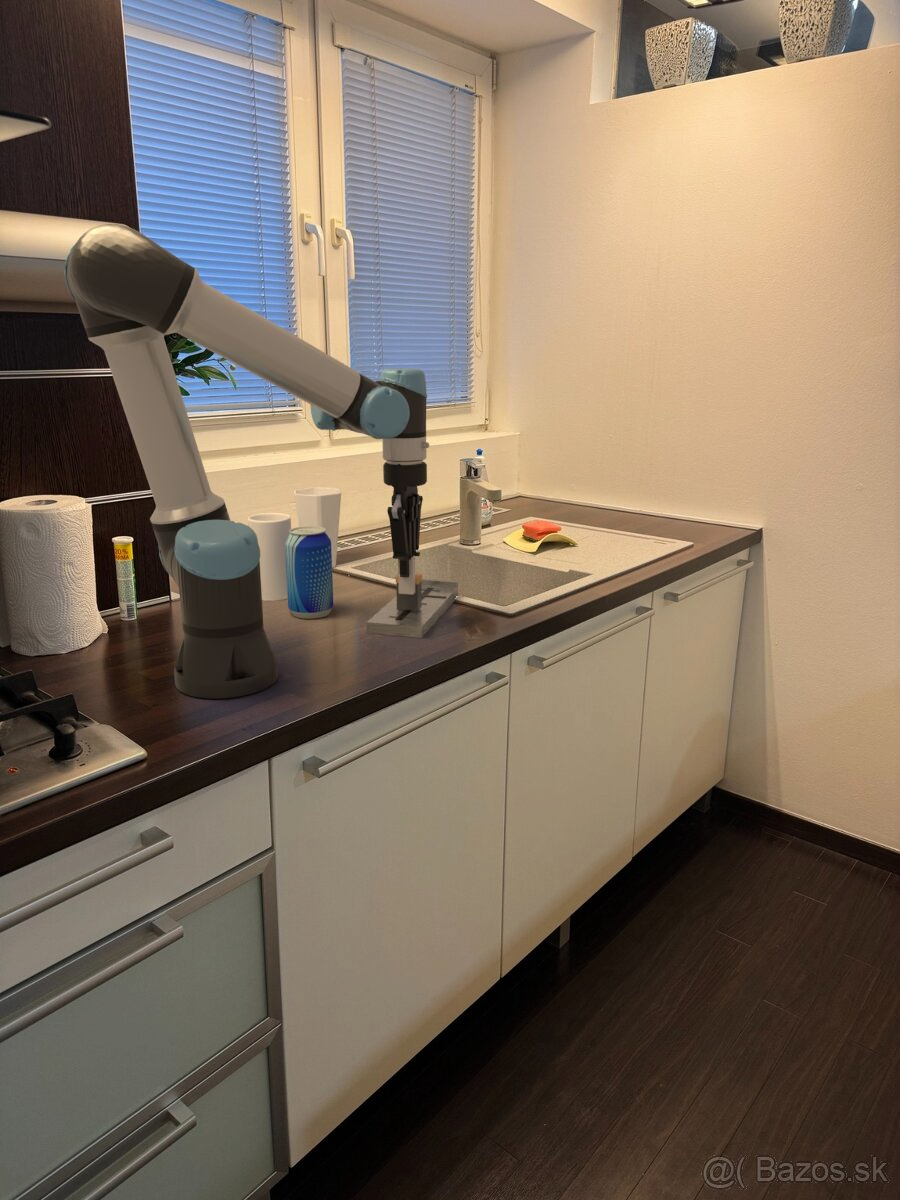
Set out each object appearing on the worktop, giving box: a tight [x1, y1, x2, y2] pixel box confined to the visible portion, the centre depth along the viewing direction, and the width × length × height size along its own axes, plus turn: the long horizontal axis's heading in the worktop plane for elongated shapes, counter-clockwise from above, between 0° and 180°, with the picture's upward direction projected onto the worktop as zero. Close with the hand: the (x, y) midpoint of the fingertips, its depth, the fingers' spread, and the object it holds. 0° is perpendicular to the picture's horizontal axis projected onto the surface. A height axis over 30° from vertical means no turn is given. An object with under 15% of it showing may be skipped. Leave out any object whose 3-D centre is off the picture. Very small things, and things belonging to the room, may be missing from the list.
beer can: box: [285, 526, 334, 620], centre depth 160 cm, size 8×8×16 cm
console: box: [366, 577, 459, 639], centre depth 162 cm, size 26×10×3 cm, turn 165°
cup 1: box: [247, 512, 292, 602], centre depth 171 cm, size 8×8×16 cm
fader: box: [395, 573, 423, 611], centre depth 157 cm, size 3×4×6 cm, turn 75°
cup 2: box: [293, 486, 342, 569], centre depth 193 cm, size 11×10×17 cm
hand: (407, 592), depth 155 cm, fingers closed
